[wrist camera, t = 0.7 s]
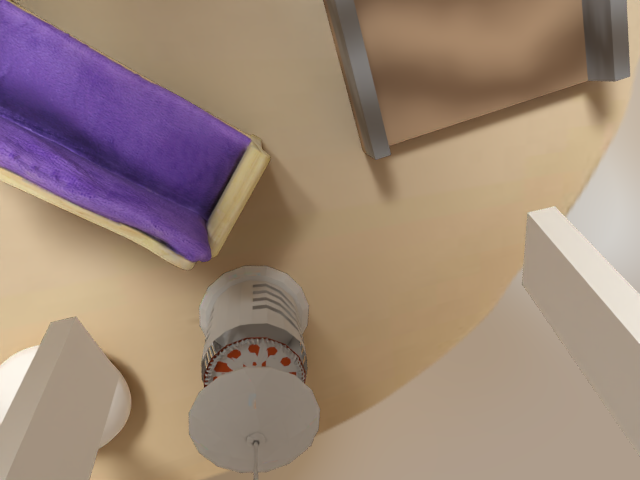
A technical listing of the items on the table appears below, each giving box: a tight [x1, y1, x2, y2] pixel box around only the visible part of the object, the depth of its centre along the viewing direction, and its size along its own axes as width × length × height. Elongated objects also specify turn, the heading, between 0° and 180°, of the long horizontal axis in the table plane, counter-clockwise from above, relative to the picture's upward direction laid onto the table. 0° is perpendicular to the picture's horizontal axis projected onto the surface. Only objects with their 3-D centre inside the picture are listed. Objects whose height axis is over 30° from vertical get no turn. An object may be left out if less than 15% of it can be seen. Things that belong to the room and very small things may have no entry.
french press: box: [189, 266, 320, 480], centre depth 30 cm, size 10×12×25 cm
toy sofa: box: [0, 0, 271, 270], centre depth 30 cm, size 21×9×10 cm, turn 59°
